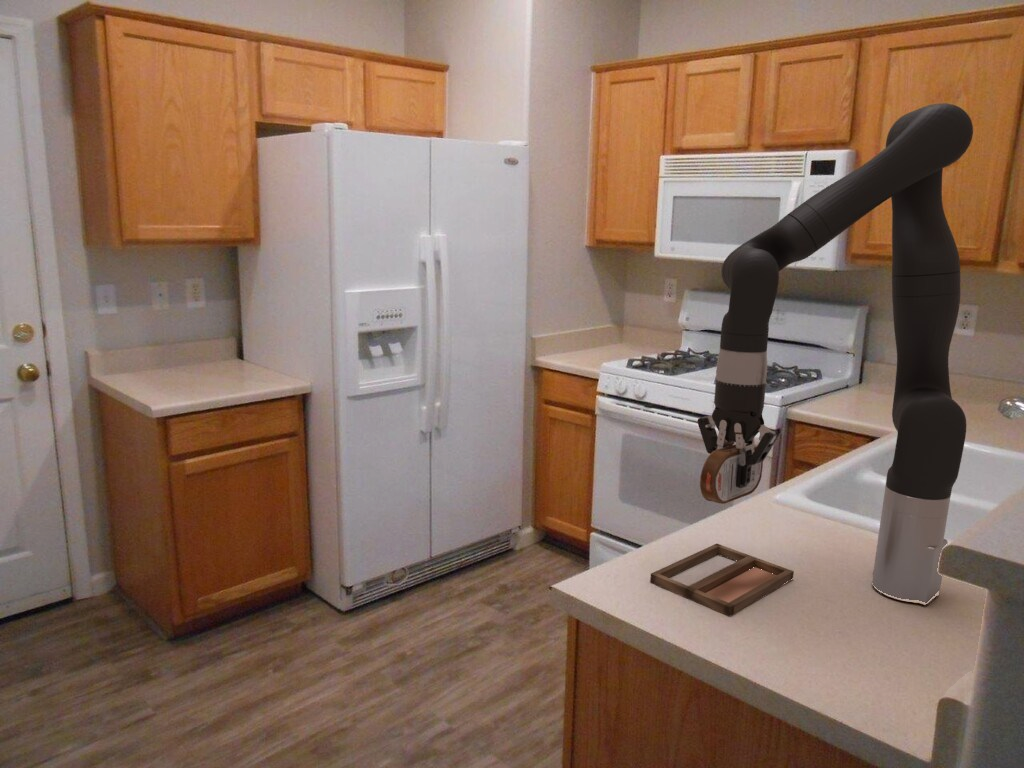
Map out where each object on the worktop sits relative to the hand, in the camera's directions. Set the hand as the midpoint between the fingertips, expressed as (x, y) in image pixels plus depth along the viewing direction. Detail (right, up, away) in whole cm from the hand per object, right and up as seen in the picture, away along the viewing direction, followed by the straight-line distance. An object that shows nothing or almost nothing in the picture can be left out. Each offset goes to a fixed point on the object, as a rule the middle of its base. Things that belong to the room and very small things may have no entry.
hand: (732, 483), depth 126 cm
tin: (0, -3, 0) cm, 3 cm away
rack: (-1, -16, +3) cm, 17 cm away
